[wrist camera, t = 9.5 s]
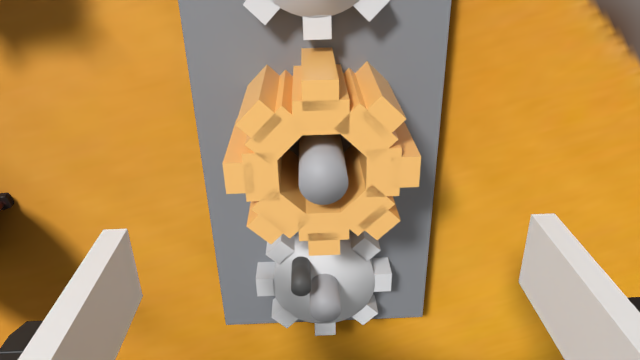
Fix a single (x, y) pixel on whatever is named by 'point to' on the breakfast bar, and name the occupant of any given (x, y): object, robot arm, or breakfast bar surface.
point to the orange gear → (320, 119)
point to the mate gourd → (5, 201)
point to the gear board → (280, 48)
